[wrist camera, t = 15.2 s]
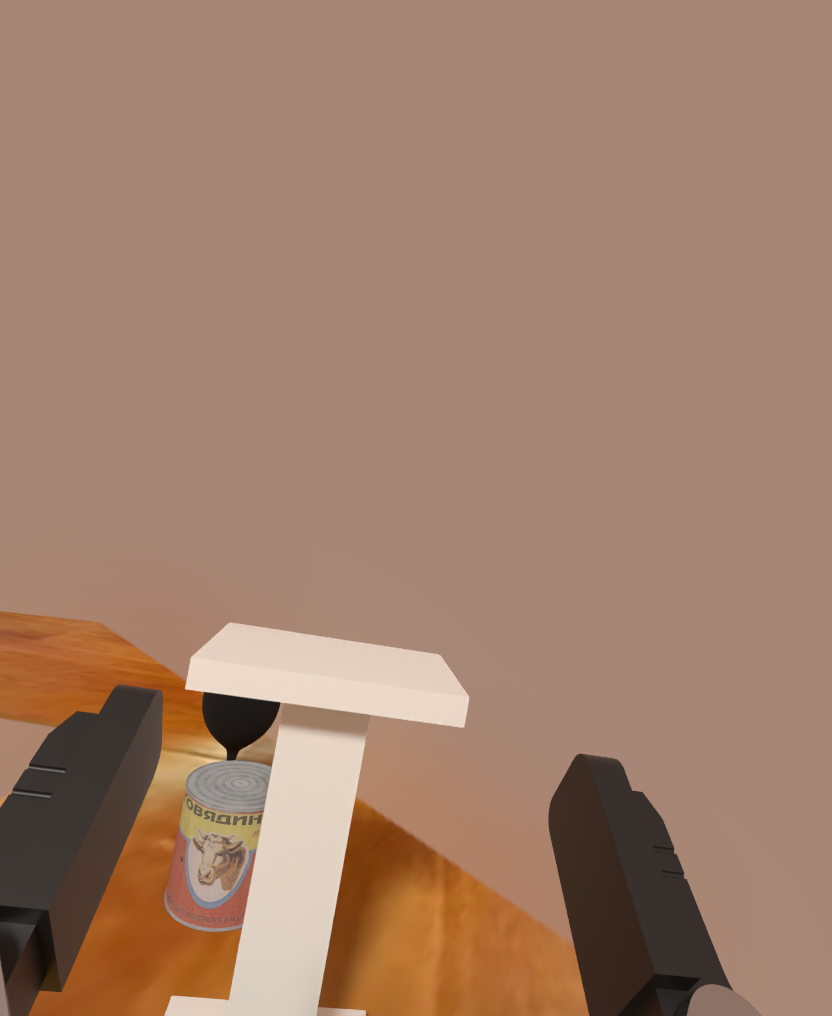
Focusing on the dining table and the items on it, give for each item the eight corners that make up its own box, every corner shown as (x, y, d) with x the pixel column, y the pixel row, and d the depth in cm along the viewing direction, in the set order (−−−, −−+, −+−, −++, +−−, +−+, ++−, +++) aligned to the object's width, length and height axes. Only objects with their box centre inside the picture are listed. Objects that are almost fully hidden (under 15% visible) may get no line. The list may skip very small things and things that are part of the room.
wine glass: (177, 792, 81) (204, 651, 82) (251, 787, 86) (275, 655, 87) (187, 832, 72) (217, 673, 73) (268, 824, 77) (295, 676, 78)
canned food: (145, 922, 56) (169, 799, 57) (186, 856, 67) (206, 754, 68) (260, 940, 56) (282, 817, 57) (282, 871, 68) (300, 769, 68)
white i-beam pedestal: (383, 1195, 37) (469, 697, 38) (90, 1183, 35) (191, 657, 36) (374, 1029, 49) (439, 654, 50) (155, 1013, 47) (229, 622, 48)
